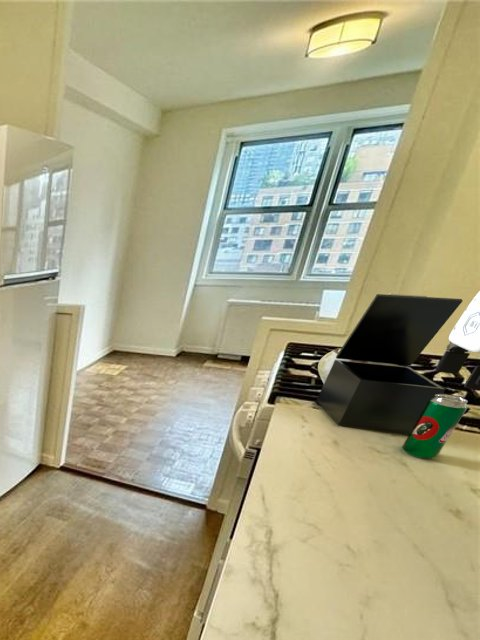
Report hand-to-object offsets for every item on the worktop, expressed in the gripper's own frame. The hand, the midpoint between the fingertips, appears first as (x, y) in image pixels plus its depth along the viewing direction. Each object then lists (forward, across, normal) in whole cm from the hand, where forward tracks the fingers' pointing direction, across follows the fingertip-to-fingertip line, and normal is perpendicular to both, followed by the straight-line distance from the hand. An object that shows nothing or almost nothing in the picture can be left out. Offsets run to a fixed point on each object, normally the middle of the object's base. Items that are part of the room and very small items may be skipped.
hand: (460, 380), depth 89 cm
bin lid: (-3, -23, -3) cm, 23 cm away
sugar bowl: (+16, -37, 0) cm, 40 cm away
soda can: (+16, 0, 0) cm, 16 cm away
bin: (+16, -18, -2) cm, 24 cm away
